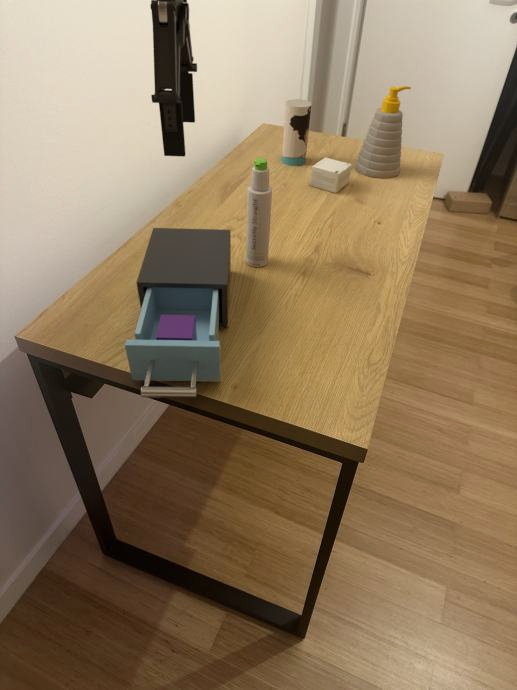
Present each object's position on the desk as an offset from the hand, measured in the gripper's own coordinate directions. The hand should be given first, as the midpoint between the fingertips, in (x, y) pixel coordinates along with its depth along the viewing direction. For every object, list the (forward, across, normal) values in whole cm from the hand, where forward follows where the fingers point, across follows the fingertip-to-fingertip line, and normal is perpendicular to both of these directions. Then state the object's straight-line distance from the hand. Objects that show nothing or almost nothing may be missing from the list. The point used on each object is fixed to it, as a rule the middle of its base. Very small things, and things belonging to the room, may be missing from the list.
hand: (180, 137), depth 66 cm
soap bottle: (+27, +58, -46) cm, 78 cm away
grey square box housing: (+27, -2, 0) cm, 27 cm away
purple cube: (+24, -19, 0) cm, 31 cm away
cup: (+27, +62, -22) cm, 71 cm away
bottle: (+27, +10, -12) cm, 31 cm away
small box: (+27, +47, -31) cm, 62 cm away
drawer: (+26, -19, 0) cm, 32 cm away
